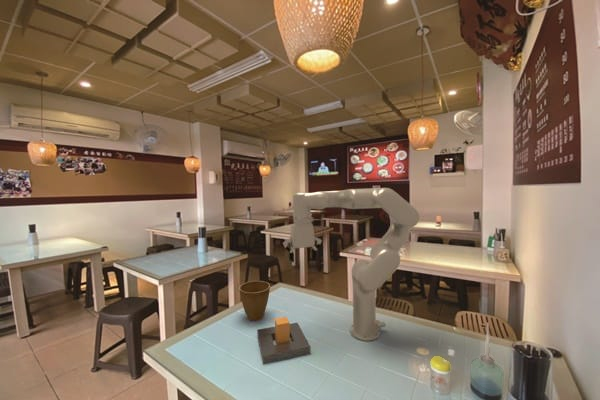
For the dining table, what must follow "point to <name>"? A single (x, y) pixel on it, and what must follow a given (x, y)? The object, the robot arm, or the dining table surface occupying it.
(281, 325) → the orange rectangular block
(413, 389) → the dining table surface
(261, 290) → the plant pot
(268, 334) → the grey square frame
